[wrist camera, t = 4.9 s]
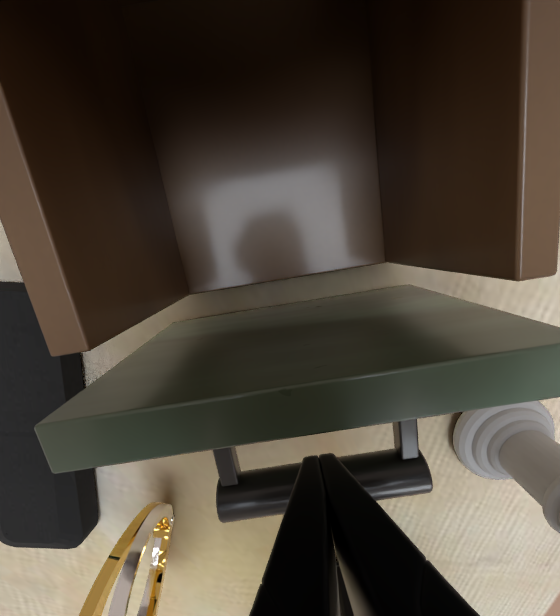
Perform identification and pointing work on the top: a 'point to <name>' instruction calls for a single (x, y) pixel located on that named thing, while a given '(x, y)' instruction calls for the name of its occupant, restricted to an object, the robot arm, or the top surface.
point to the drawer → (280, 217)
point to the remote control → (23, 439)
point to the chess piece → (514, 450)
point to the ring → (134, 564)
